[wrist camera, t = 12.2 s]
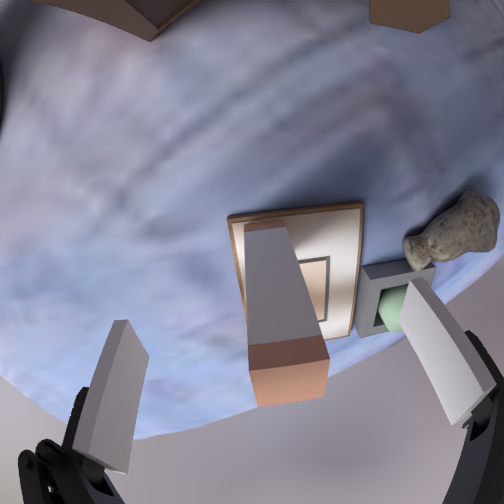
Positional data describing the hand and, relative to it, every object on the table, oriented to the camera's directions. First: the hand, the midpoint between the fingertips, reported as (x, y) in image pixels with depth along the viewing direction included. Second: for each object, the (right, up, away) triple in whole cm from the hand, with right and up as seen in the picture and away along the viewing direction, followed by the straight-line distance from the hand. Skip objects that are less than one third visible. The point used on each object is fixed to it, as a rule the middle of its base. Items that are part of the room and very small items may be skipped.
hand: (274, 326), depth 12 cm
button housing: (+12, -1, +12) cm, 17 cm away
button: (+12, -1, +12) cm, 17 cm away
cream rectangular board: (+3, 0, +11) cm, 11 cm away
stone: (+17, +6, +9) cm, 20 cm away
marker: (0, +4, +8) cm, 9 cm away
